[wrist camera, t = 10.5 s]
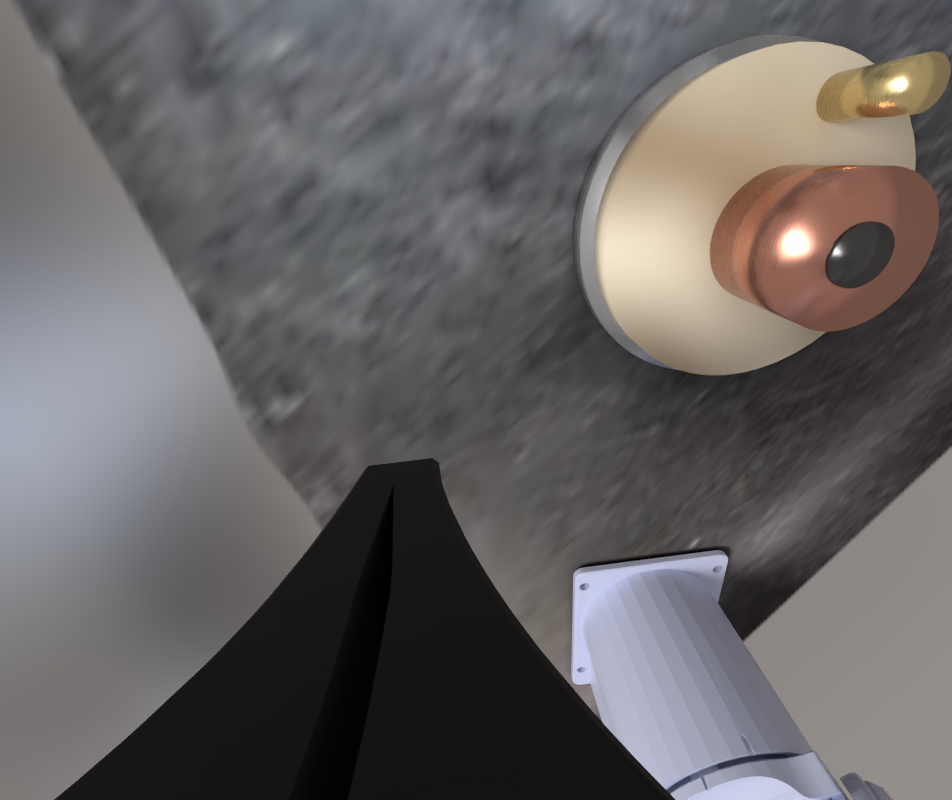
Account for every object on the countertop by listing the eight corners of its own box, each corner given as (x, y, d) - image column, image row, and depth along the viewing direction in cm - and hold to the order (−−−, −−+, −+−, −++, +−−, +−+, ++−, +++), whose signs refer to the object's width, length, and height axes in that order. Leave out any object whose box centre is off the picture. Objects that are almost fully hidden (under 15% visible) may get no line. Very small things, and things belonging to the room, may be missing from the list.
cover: (787, 314, 16) (870, 350, 13) (686, 279, 15) (750, 309, 12) (864, 190, 14) (981, 198, 11) (756, 144, 13) (851, 138, 10)
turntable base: (819, 346, 19) (839, 355, 18) (570, 374, 19) (578, 385, 18) (909, 28, 14) (942, 18, 13) (574, 57, 14) (584, 51, 13)
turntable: (764, 390, 18) (836, 440, 15) (547, 318, 16) (576, 358, 13) (944, 128, 14) (1095, 119, 11) (690, -13, 12) (784, -76, 9)
